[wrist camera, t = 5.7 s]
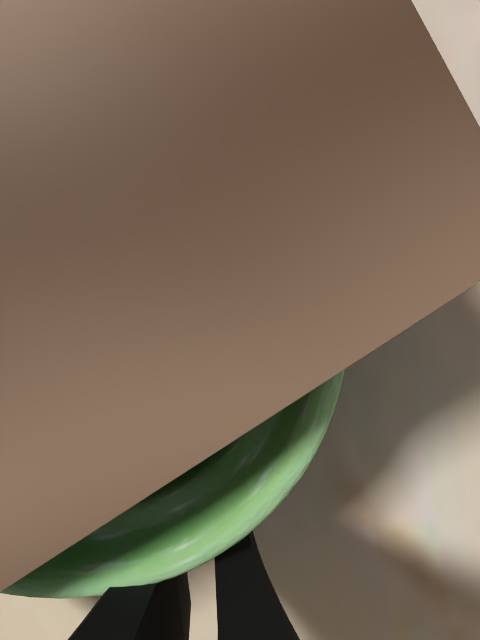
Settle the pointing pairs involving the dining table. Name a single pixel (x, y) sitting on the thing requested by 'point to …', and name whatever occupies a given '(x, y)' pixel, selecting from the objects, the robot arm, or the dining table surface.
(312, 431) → the ramekin
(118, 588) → the robot arm
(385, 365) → the dining table surface
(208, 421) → the walnut shelf
